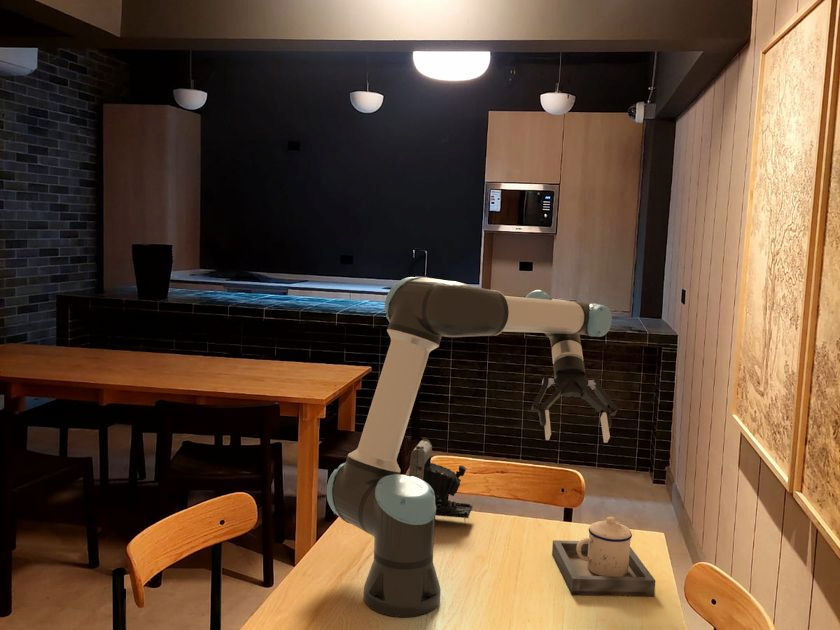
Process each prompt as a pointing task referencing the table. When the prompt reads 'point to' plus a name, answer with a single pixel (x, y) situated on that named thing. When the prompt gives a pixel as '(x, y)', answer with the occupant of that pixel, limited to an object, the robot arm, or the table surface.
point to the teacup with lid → (607, 548)
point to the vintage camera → (438, 481)
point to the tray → (591, 584)
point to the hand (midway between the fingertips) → (577, 438)
